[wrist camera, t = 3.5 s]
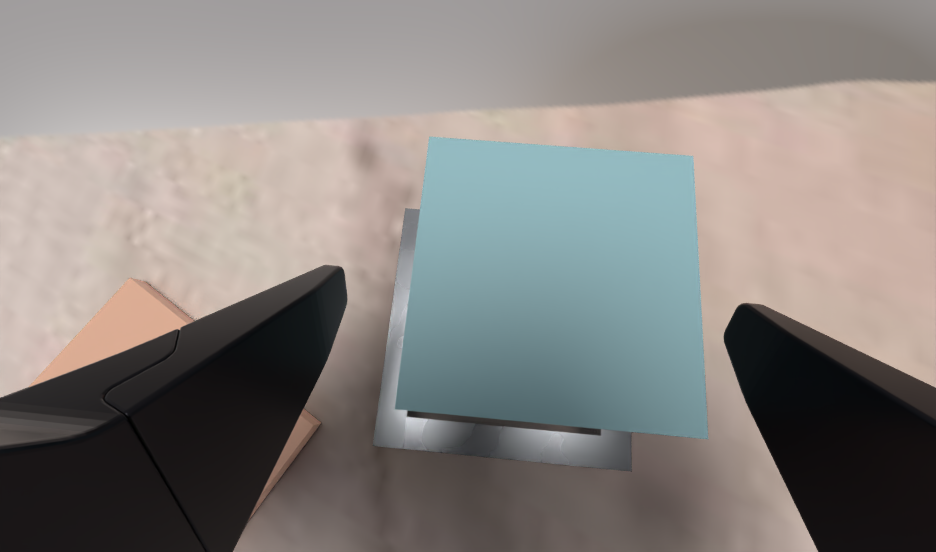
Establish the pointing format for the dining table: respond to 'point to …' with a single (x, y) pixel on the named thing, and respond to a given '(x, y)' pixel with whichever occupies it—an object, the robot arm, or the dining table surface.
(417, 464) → the dining table surface
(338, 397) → the dining table surface
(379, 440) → the square socket
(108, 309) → the terracotta tile
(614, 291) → the teal peg
